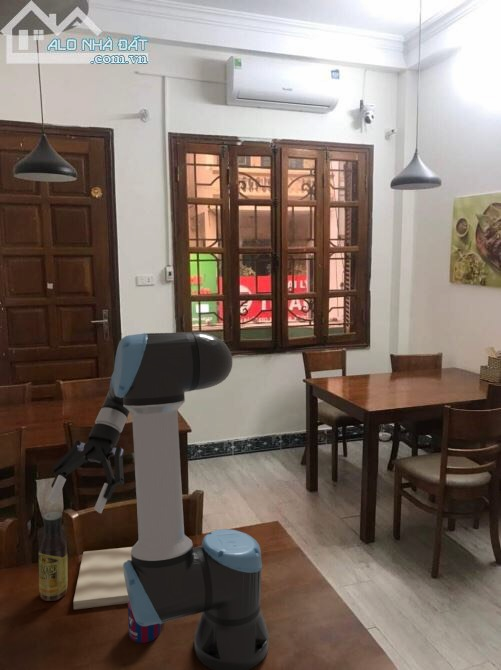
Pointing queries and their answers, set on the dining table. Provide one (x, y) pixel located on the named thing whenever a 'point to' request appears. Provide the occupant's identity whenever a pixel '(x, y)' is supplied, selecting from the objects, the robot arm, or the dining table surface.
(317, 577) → the dining table surface
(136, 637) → the mug
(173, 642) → the dining table surface
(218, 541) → the robot arm
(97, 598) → the birch board
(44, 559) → the sauce bottle
